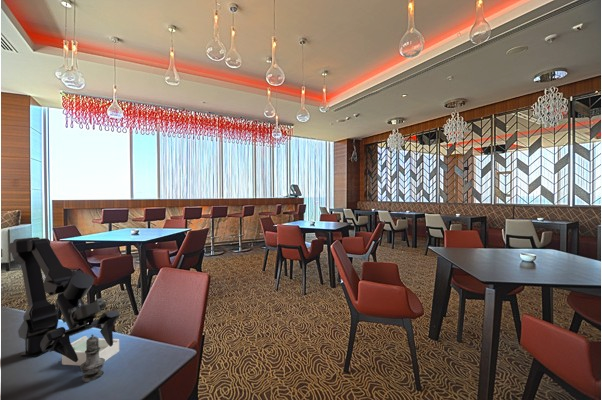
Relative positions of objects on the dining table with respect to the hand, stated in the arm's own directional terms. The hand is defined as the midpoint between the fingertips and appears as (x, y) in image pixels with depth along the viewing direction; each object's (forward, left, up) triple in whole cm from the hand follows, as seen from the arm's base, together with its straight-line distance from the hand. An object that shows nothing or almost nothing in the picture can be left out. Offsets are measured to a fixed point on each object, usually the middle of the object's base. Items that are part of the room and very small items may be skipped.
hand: (95, 353), depth 82 cm
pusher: (-13, +9, -6) cm, 17 cm away
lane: (-10, +9, -7) cm, 15 cm away
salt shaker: (-1, 0, -7) cm, 7 cm away
